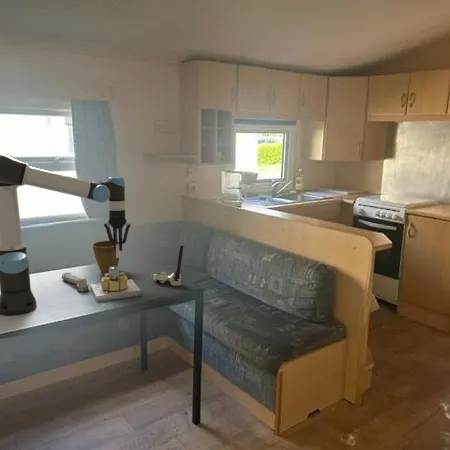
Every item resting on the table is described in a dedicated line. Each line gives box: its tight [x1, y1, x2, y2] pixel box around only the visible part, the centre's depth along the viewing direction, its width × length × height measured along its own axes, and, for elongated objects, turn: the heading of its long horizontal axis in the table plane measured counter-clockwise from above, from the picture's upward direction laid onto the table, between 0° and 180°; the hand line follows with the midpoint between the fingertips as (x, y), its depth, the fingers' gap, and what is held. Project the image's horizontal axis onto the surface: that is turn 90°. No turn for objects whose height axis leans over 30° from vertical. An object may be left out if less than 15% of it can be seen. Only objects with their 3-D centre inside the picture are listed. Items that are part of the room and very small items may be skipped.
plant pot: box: [92, 240, 120, 275], centre depth 247 cm, size 15×15×16 cm
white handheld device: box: [61, 272, 90, 292], centre depth 226 cm, size 5×7×25 cm
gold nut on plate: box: [89, 266, 142, 302], centre depth 215 cm, size 20×18×12 cm
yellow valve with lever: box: [100, 271, 128, 291], centre depth 219 cm, size 20×12×5 cm, turn 11°
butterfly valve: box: [150, 244, 185, 287], centre depth 230 cm, size 9×20×17 cm
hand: (118, 257), depth 224 cm, fingers closed
